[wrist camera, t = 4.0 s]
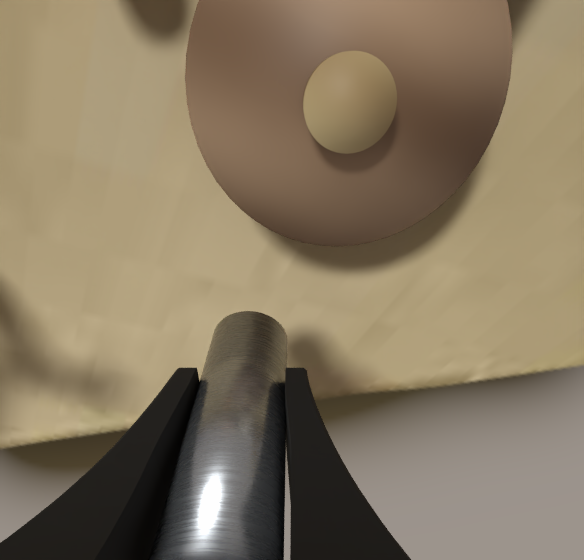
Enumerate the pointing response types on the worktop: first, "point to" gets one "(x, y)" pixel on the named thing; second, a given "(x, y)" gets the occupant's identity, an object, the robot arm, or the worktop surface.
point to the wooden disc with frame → (345, 107)
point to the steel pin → (232, 451)
